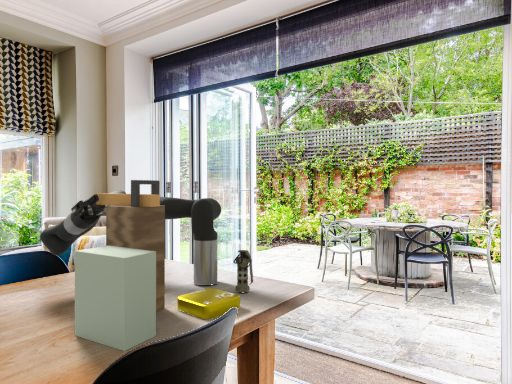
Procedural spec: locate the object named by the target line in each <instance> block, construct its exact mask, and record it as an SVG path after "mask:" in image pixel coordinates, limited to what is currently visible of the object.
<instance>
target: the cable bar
mask: <svg viewBox="0 0 512 384" xmlns="http://www.w3.org/2000/svg"><path fill="white" fill-rule="evenodd" d="M95 194H97V195H98V197H99V201H97V202H96V204H98V205H121V206H131V193H126V194H113V193H111V192H109V193H107V192H105V193H103V192H101V193H100V192H99V193H95ZM160 197H161V195H157V194H151V193H150V194H148V193H140V206H143V207H157V206H160Z"/></svg>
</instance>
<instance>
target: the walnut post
mask: <svg viewBox="0 0 512 384" xmlns="http://www.w3.org/2000/svg"><path fill="white" fill-rule="evenodd" d="M165 223H166V219H165V205H160V206H157V207H143V206H140V207H131V206H121V205H115V206H106V212H105V246H116V247H124V248H132V249H140V250H148V251H156V312H158V310H159V311H162V310H163V308H164V309H165V307H166V306H165V304H166V302H165V298H166V297H165V296H166V295H165V291H166V289H165V288H166V286H165V285H166V283H165V277H166V276H165V273H166V270H165V267H166V265H165V263H166V260H165V259H166V257H165V256H166V252H165V251H166V248H165V247H166V246H165V245H166V244H165V243H166V241H165V240H166V238H165V237H166V235H165V234H166V224H165Z"/></svg>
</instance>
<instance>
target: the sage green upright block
mask: <svg viewBox="0 0 512 384" xmlns="http://www.w3.org/2000/svg"><path fill="white" fill-rule="evenodd" d="M74 336H76V337H79V338H82V339H84V340H85V339H86V340H88V341H92V342H95V343H98V344H100V345H104V346H107V347H110V348H114V349H116V350H120V351H122V352H126V351H127V350H130V349H133V348H134V347H136V346H138V345H140V344H142V343H145V342H147V341H148V340H151V339H152V338H155V337H157V311H156V251H148V250H140V249H132V248H124V247H116V246H106V245H103V246H102V245H101V246H98V247H96V246H95V247H91V248H85V249H78V250H74Z"/></svg>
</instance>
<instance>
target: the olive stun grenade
mask: <svg viewBox="0 0 512 384" xmlns="http://www.w3.org/2000/svg"><path fill="white" fill-rule="evenodd" d="M237 253H239V254H238V255H236V257H235V258H234V259H233V263H234V264H235V265H236V267H237V269H236V270H237V271H236V273H237V276H236V281H237V282H236V286H235V292H236V291H237V293H238V292H247V291H248V292H250V291H249V290H251V289H250V288H251V287H250V285H252V283H254V274H253V273H254V271H253V259H252V255H251V254H250V252H249V250H248V249H240V250H238V251H237ZM248 274H250V283H249V275H248ZM248 292H247V293H248Z"/></svg>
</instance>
